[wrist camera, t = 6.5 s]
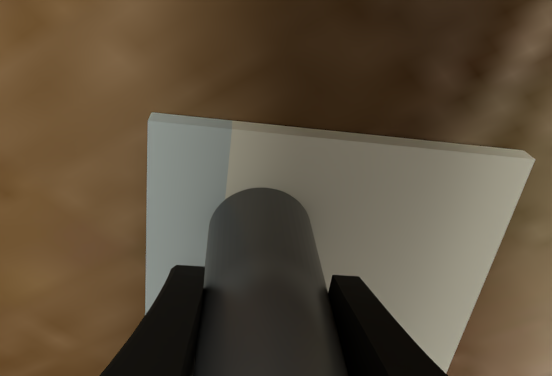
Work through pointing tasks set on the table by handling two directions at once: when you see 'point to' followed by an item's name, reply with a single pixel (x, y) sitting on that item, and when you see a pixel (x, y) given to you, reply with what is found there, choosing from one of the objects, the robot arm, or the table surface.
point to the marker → (265, 293)
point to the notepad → (345, 209)
